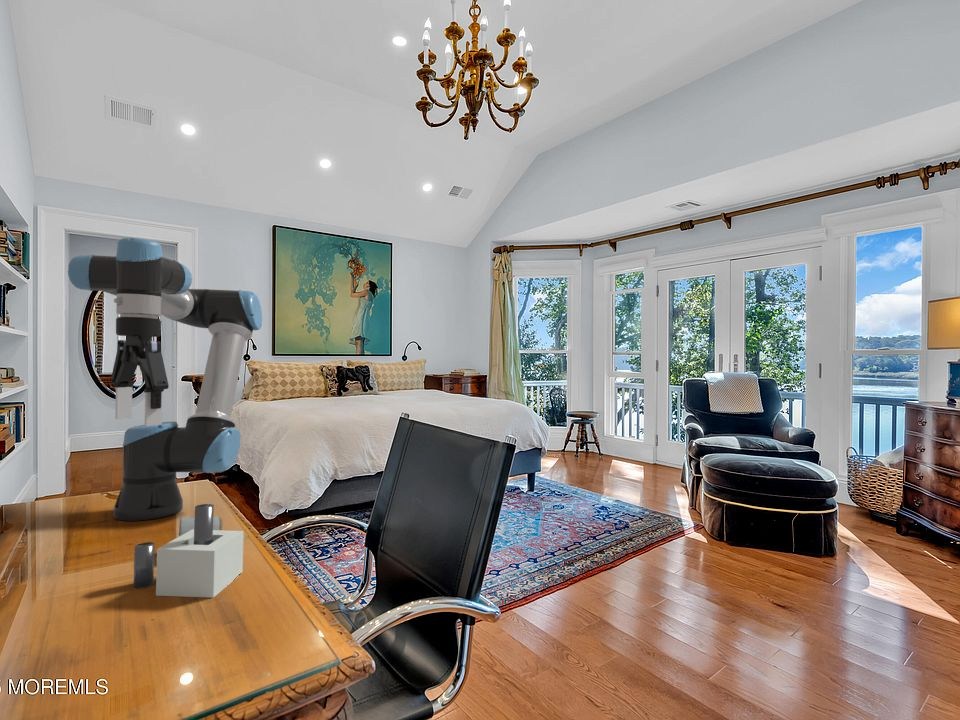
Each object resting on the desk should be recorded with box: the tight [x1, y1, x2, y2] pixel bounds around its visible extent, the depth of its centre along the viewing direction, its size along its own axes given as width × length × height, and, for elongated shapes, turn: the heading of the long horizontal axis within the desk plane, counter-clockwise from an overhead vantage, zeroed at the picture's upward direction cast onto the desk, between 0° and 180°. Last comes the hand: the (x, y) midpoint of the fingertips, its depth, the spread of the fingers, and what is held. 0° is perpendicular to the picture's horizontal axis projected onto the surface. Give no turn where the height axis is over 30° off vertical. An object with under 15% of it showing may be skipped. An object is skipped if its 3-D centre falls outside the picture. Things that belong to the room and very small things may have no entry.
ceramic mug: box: [178, 515, 224, 537], centre depth 106 cm, size 11×8×8 cm
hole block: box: [155, 529, 245, 599], centre depth 90 cm, size 10×10×8 cm
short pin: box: [132, 541, 156, 589], centre depth 90 cm, size 3×3×7 cm
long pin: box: [194, 503, 215, 545], centre depth 90 cm, size 3×3×14 cm
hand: (137, 421), depth 101 cm, fingers open, 13 cm apart
